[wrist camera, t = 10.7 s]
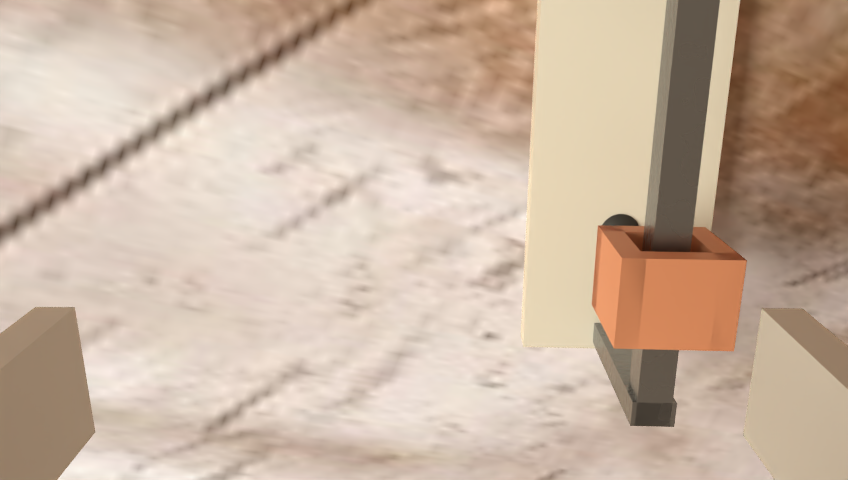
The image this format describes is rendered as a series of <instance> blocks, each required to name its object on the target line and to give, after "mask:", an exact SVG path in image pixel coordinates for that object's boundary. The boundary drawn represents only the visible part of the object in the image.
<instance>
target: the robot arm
mask: <svg viewBox="0 0 848 480" xmlns="http://www.w3.org/2000/svg"><path fill="white" fill-rule="evenodd" d="M94 433H95V428H94V422H93V416H92V410H91V404H90V398H89V391H88V385H87V379H86V373H85V367H84V361H83V355H82V349H81V343H80V337H79V331H78V325H77V319H76V313H75V307H35V308H34V309H32V310H31V311H30V312H28V313H27V314H26V315H24V316H23V317H22V318H20V319H19V320H18V321H16V322H15V323H14V324H12V325H11V326H10V327H9V328H7V329H6V330H5V331H3V332H2V333H1V334H0V480H57V479H58V478H59V477H60V475H61V474H62V473H63V472H64V470H65V469H66V468H67V467H68V465H69V464H70V463H71V462H72V460H73V459H74V458H75V457H76V455H77V454H78V453H79V452H80V450H81V449H82V448H83V447H84V445H85V444H86V443H87V442H88V440H89V439H90V438H91V437H92V435H93V434H94ZM743 436H744V437H745V439H746V440H747V441H748V443H749V444H750V446H751V447H752V448H753V450H754V451H755V453H756V454H757V455H758V457H759V458H760V460H761V461H762V463H763V464H764V465H765V467H766V468H767V470H768V471H769V472H770V474H771V475H772V477H773V478H774V480H848V346H847V345H846V344H844V343H843V342H842V341H841V340H840V339H838V338H837V337H836V336H835V335H834V334H832V333H831V332H830V331H829V330H828V329H826V328H825V327H824V326H823V325H822V324H820V323H819V322H818V321H817V320H816V319H815V318H813V317H812V316H811V315H810V314H809V313H807V312H806V311H805V310H804V309H795V308H762V310H761V317H760V324H759V330H758V337H757V344H756V351H755V358H754V364H753V371H752V378H751V385H750V392H749V398H748V405H747V412H746V419H745V426H744V432H743Z"/></svg>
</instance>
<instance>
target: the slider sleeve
mask: <svg viewBox="0 0 848 480" xmlns="http://www.w3.org/2000/svg"><path fill="white" fill-rule="evenodd" d="M643 236H644V226H606V225H598V231H597V243H596V256H595V269H594V281H593V294H592V306H593V308H594V310H595V312H596V314H597V316H598V318H599V320H600V322H601V324H602V326H603V328H604V330H605V332H606V334H607V336H608V338H609V340H610V342H611V344H612V346H613V348H614V349H656V350H703V351H734V347H735V340H736V333H737V326H738V319H739V312H740V305H741V298H742V291H743V284H744V276H745V269H746V262H747V260H745V259H744V258H743V257H742V256H741V255H739V254H738V253H737V252H736V251H734V250H733V249H732V248H731V247H729V246H728V245H727V244H726V243H724V242H723V241H722V240H721V239H719V238H718V237H717V236H716V235H714V234H713V233H712V232H711V231H709V230H708V229H707V228H706V227H693V234H692V242H691V251H690V252H652V251H642V246H643Z"/></svg>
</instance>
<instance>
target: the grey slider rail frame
mask: <svg viewBox="0 0 848 480" xmlns="http://www.w3.org/2000/svg"><path fill="white" fill-rule="evenodd" d="M719 5H720V0H667V2H666V12H665V22H664V33H663V43H662V53H661V63H660V73H659V84H658V94H657V104H656V114H655V124H654V134H653V145H652V155H651V165H650V175H649V185H648V196H647V206H646V216H645V226H644V236H643V246H642V251H652V252H690V251H691V242H692V234H693V225H694V217H695V208H696V200H697V191H698V183H699V174H700V166H701V157H702V149H703V141H704V132H705V124H706V115H707V107H708V98H709V90H710V81H711V73H712V64H713V56H714V47H715V39H716V30H717V22H718V13H719ZM593 344H594V346H595V348H596V350H597V353H598V355H599V357H600V359H601V361H602V364H603V366H604V368H605V370H606V373H607V375H608V377H609V379H610V382H611V384H612V386H613V388H614V390H615V393H616V395H617V397H618V399H619V402H620V404H621V406H622V408H623V410H624V413H625V415H626V417H627V419H628V422H629V424H630V426H666V427H674V423H675V415H676V407H677V403H676V401H675V399H674V398H673V395H674V386H675V378H676V369H677V361H678V352H679V350H656V349H614V348H613V346H612V344H611V342H610V340H609V338H608V336H607V334H606V332H605V330H604V328H603V326H602V324H601V323H594V332H593Z"/></svg>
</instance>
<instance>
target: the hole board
mask: <svg viewBox="0 0 848 480" xmlns="http://www.w3.org/2000/svg"><path fill="white" fill-rule="evenodd" d="M666 2H667V0H538V2H537V22H536V41H535V61H534V81H533V101H532V121H531V141H530V161H529V181H528V201H527V221H526V241H525V260H524V280H523V300H522V320H521V339H522V343H523V347H558V348H595V346H594V344H593V332H594V323H601V322H600V320H599V318H598V316H597V314H596V312H595V310H594V308H593V306H592V294H593V281H594V269H595V256H596V243H597V231H598V225H606V226H645V216H646V206H647V196H648V185H649V175H650V165H651V155H652V145H653V134H654V124H655V114H656V104H657V94H658V84H659V73H660V63H661V53H662V43H663V33H664V22H665V12H666ZM739 5H740V0H720V5H719V13H718V22H717V30H716V39H715V47H714V56H713V64H712V73H711V81H710V90H709V98H708V107H707V115H706V124H705V132H704V141H703V149H702V157H701V166H700V174H699V183H698V191H697V200H696V208H695V217H694V225H693V227H706V228H707V229H708V230H709V231H711V229H712V221H713V213H714V205H715V197H716V189H717V181H718V173H719V165H720V157H721V149H722V141H723V133H724V125H725V117H726V109H727V101H728V93H729V85H730V77H731V69H732V61H733V53H734V45H735V37H736V29H737V21H738V13H739Z"/></svg>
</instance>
